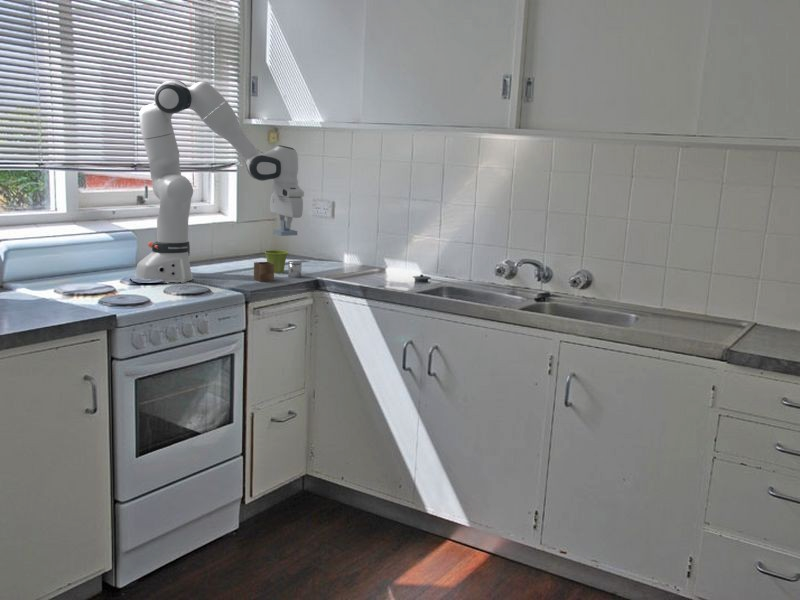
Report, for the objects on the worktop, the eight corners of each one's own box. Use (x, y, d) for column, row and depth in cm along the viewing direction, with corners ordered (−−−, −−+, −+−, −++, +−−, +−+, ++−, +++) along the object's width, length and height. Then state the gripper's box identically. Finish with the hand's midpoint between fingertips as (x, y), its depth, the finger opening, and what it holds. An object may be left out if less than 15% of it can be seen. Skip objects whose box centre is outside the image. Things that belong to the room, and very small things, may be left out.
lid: (281, 235, 312) (281, 222, 311) (273, 233, 317) (273, 220, 316) (297, 235, 315) (297, 221, 314) (289, 233, 321) (289, 219, 320)
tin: (291, 279, 325) (292, 263, 324) (285, 277, 329) (286, 261, 328) (303, 278, 328) (304, 262, 327) (297, 276, 332) (298, 260, 331)
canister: (260, 283, 314) (260, 264, 313) (253, 280, 319) (254, 262, 317) (273, 282, 317) (274, 263, 316) (267, 279, 322) (267, 261, 321)
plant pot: (290, 272, 342) (290, 250, 340) (284, 275, 333) (285, 254, 331) (267, 270, 343) (267, 249, 341) (261, 274, 333) (261, 252, 332)
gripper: (265, 188, 320) (265, 224, 322) (290, 192, 303) (289, 231, 306) (281, 188, 323) (280, 224, 326) (306, 192, 306) (305, 230, 309)
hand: (285, 227), depth 316 cm, fingers closed on lid, 2 cm apart
